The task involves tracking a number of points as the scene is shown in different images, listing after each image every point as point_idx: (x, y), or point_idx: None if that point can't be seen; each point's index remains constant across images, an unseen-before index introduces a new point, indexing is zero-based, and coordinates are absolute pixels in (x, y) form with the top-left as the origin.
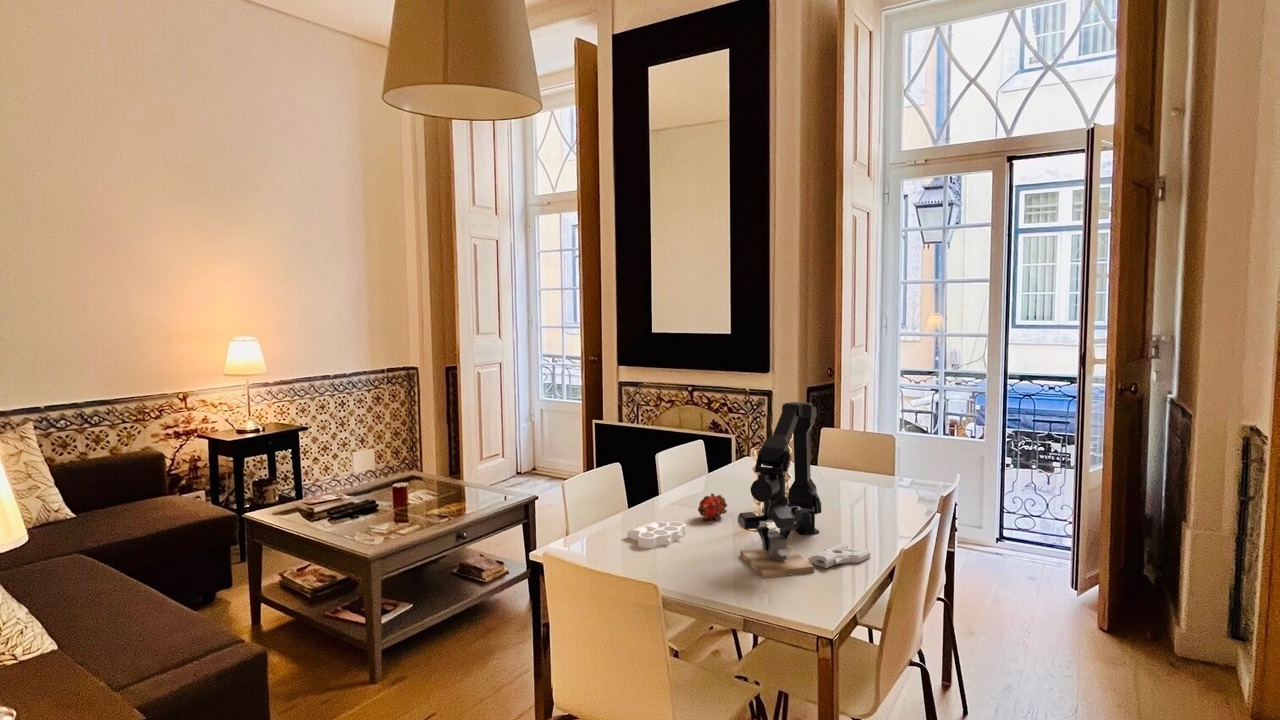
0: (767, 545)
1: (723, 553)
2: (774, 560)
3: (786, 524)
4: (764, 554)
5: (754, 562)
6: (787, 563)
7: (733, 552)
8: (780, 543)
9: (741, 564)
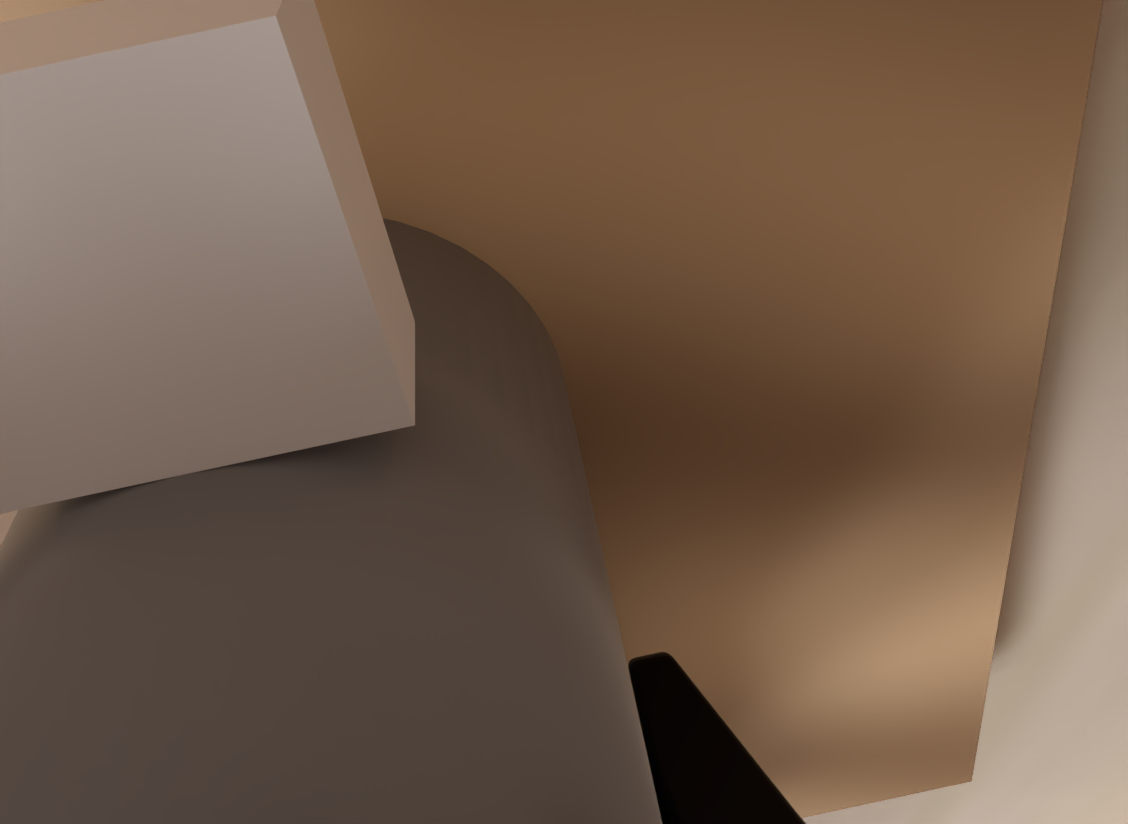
0: (698, 780)
1: (1116, 749)
2: None
3: None
4: None
5: (1021, 277)
6: None
7: None
8: (242, 718)
9: (1102, 401)
